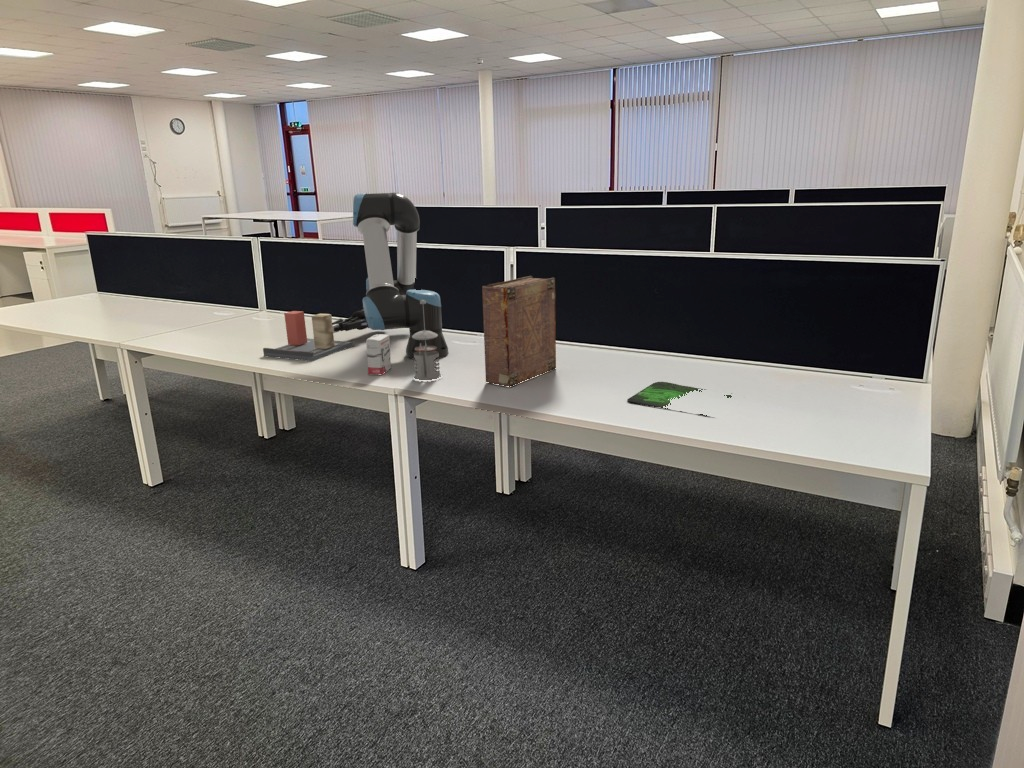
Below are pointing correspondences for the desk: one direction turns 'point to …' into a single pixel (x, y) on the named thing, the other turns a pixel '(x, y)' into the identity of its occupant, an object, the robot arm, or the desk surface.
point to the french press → (426, 355)
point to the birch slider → (323, 331)
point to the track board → (305, 350)
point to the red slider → (295, 327)
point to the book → (519, 329)
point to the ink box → (378, 354)
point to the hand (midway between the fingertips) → (326, 331)
